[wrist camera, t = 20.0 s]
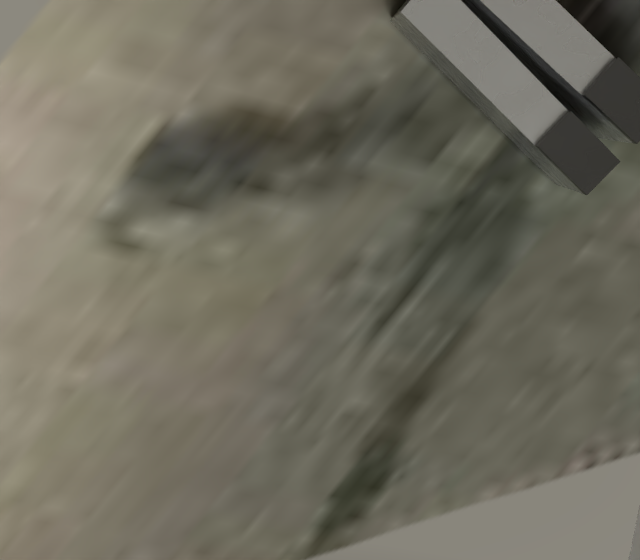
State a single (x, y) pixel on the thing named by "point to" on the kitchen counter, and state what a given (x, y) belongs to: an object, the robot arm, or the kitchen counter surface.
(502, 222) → the kitchen counter surface
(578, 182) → the bar
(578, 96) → the tongs base
